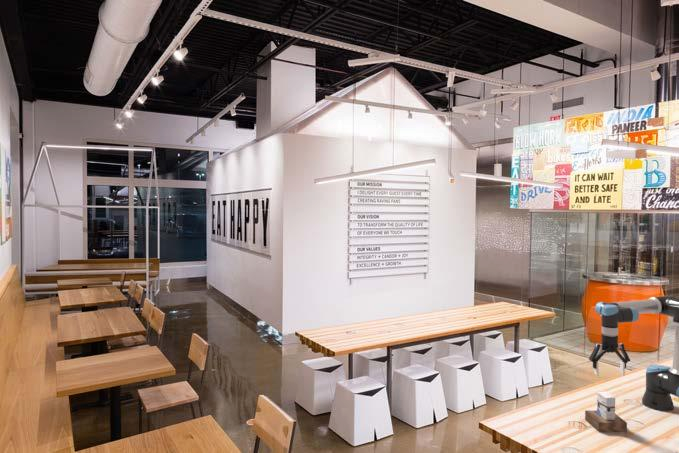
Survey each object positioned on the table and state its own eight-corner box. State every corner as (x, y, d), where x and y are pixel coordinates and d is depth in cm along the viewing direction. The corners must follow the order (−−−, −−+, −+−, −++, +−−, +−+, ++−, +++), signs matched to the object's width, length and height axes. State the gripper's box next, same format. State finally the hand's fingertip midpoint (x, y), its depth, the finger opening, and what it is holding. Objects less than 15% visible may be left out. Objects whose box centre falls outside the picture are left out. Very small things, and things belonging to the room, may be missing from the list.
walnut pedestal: (611, 420, 248) (611, 410, 248) (626, 432, 234) (627, 422, 234) (585, 419, 249) (585, 410, 248) (598, 432, 235) (598, 422, 234)
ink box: (596, 413, 245) (596, 391, 245) (605, 412, 245) (605, 391, 245) (605, 420, 237) (606, 397, 236) (615, 420, 237) (615, 397, 237)
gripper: (629, 332, 246) (628, 371, 247) (582, 332, 246) (581, 372, 247) (638, 336, 238) (637, 376, 239) (589, 336, 239) (589, 377, 240)
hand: (609, 374), depth 243 cm, fingers open, 13 cm apart
